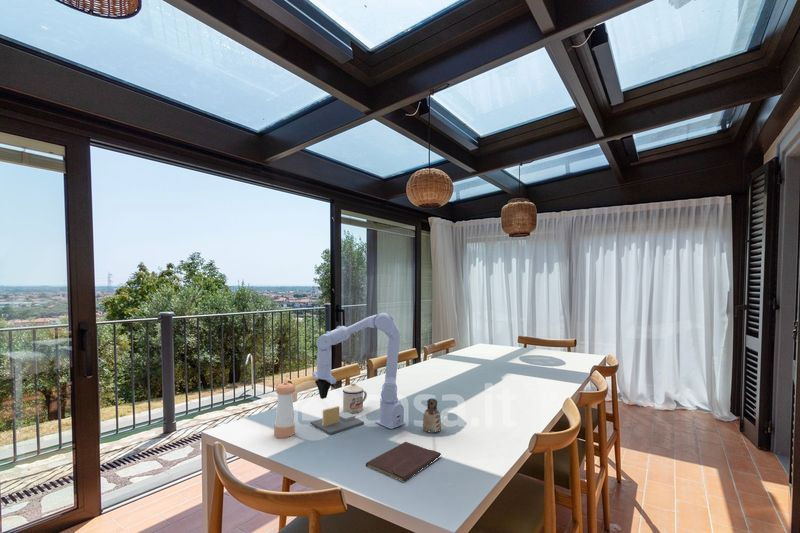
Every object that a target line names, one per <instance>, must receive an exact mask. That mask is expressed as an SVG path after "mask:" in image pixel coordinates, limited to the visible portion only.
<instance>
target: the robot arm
mask: <svg viewBox="0 0 800 533" xmlns="http://www.w3.org/2000/svg"><path fill="white" fill-rule="evenodd" d="M375 327H376V329H377V330H379V331H381V332H382V333H384V334H385V335H386V336H387V337H388V346H387V355H386V356H387V357H386V366H385V375H384V382H383V384H382V387H381V392H380V396H381V398H380V400H379V402H380V403H379V409H380V410H379V419H378V420H375V423H376V424H378V425H380V426H383V427H385V428H387V429H394V428H395V429H396V428H397V427H400V426H403V425H406V422H405V421H404V418H405V416H404V415H405V409H404V406H403V405H402V404H401V403H400V402H399V398H398V385H397V374H398V363H399V352H400V342H401V331H400V329H399V327H398V326H397V324H396V322H395V320H394V318H393V317H392V316H391V315H390V314H389V313H387V312H380V313H378V314H373V315H370V316H367V317H365V318H364V319H361V320H360V321H357V322H355V323H353V324H351V325H349V326H345V325H338V326H336V328H335V329H333V330H330V331H329V330H327V331H325V333H324V334H321V335H320V336H318V338H317V339H316V341H315V343H316V347H317V353H316V357H317V358H316V371H312V372H311V373H312V374H311V375H312V376H311V377H312V378H314V379H316V380H315V382H314V383H315V385H316V387H317V389H318V395H319V398H320V399H322V400H324V399H327V397H328V393H329V390H330V387H331V386H332V385H334V384H337V377H335V376H333V375H332V346H335V345H338V344H339V343H342V342H344V341H346V340H348V339H350V336H351V335H352V334H354V333H357V332H359V331H361V330H363V329H366V328H372V329H375Z"/></svg>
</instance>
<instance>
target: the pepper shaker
mask: <svg viewBox="0 0 800 533" xmlns="http://www.w3.org/2000/svg"><path fill="white" fill-rule="evenodd" d="M295 391H296V387H295V385H294V383H290V382H288V381H284V382H283V383H279V384H277V386H276V388H275V392H276V394H277V405H276V412H275V419H274V420H275V422H274V423H275V424H274V426H273V427H274V428H273V436H274V437H275V438H278V439H286V438H289V436H290V437H292V436H294V435H295V433H296V432H295V430H296V429H295V428H296V427H295V426H296V424H295V411H294V409H295V408H294V401H293V400H294V393H295ZM293 434H294V435H293ZM285 437H286V438H285Z"/></svg>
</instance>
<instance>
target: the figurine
mask: <svg viewBox="0 0 800 533" xmlns="http://www.w3.org/2000/svg"><path fill="white" fill-rule="evenodd" d="M426 402H427V403H426V407H427V409H425V411H424V412H423V418H422V419H423V420H422V430H423V429H424V430H425V431H424V430H423V431H424V432H426V431H430V432H435V431H439V430H441V431H442V422H441V420H442V419H441V413H440V411H439V410H438V400H437V399H436V398H435V397H430V398H428V399H427V401H426Z"/></svg>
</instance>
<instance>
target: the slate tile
mask: <svg viewBox="0 0 800 533" xmlns="http://www.w3.org/2000/svg"><path fill="white" fill-rule="evenodd" d="M355 418H356V415H354V413H348V412H345V411H344V412H341V414H340V413H339V419H341V420H343V421H345V422H346V421H349V420H353V419H355Z"/></svg>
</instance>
